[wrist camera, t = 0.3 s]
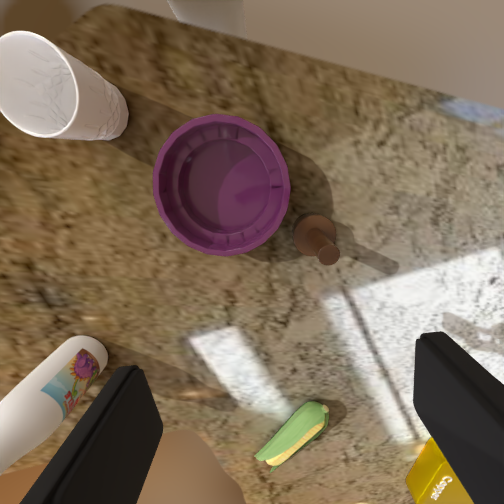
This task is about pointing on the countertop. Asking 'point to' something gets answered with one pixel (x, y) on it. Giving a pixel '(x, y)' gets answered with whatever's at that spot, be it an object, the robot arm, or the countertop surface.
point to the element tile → (435, 479)
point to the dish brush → (316, 238)
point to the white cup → (56, 92)
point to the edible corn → (295, 434)
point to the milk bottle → (48, 396)
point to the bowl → (221, 185)
